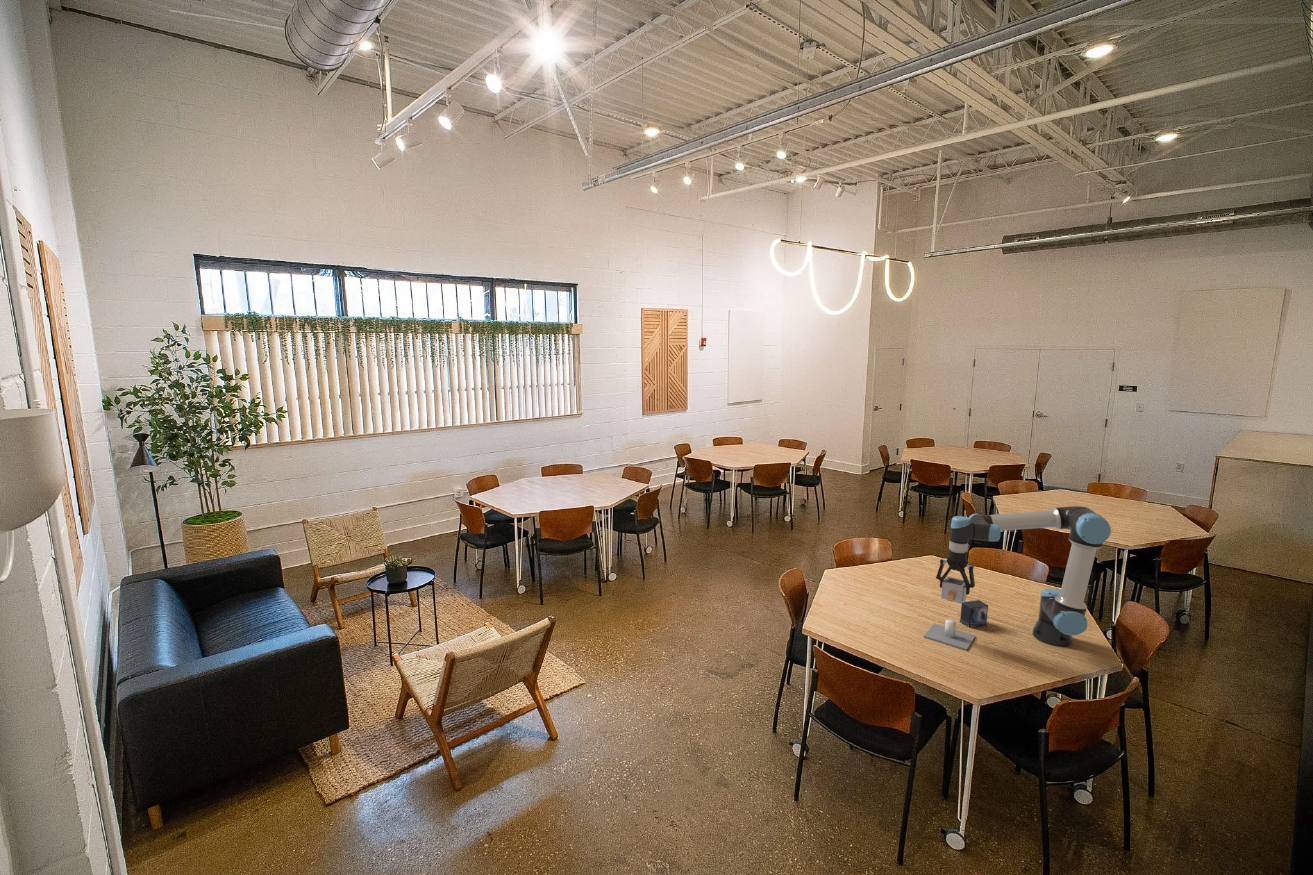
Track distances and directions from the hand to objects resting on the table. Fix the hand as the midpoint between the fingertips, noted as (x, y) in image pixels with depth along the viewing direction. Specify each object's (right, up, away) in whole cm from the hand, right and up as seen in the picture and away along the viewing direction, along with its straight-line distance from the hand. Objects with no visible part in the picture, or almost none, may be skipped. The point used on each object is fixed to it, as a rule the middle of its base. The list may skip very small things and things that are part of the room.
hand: (953, 597), depth 263 cm
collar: (-1, 0, -1) cm, 2 cm away
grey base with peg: (0, -19, +3) cm, 20 cm away
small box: (+18, -18, +16) cm, 30 cm away
